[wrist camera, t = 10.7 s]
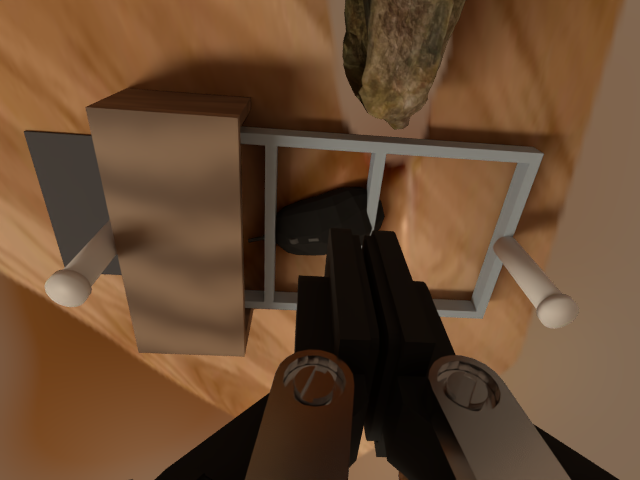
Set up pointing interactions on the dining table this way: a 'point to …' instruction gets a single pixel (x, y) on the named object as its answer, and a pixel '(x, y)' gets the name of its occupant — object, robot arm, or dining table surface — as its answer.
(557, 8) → the dining table surface
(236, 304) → the tunnel
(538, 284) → the gray frame
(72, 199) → the dark grey flat slab
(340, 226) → the gaming mouse
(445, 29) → the rock
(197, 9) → the dining table surface
